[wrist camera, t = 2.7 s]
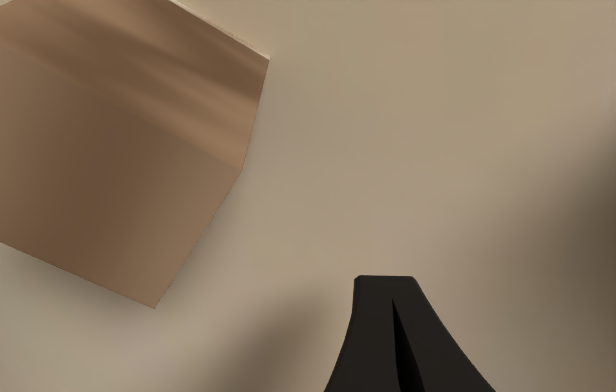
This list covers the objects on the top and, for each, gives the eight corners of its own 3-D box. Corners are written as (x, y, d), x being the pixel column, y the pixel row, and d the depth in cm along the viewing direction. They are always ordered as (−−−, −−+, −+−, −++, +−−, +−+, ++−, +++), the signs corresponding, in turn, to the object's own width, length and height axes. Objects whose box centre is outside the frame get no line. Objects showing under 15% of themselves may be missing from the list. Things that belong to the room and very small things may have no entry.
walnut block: (270, 56, 16) (241, 171, 10) (208, 161, 18) (154, 308, 12) (103, -44, 15) (-37, 23, 9) (55, 81, 16) (-88, 204, 11)
